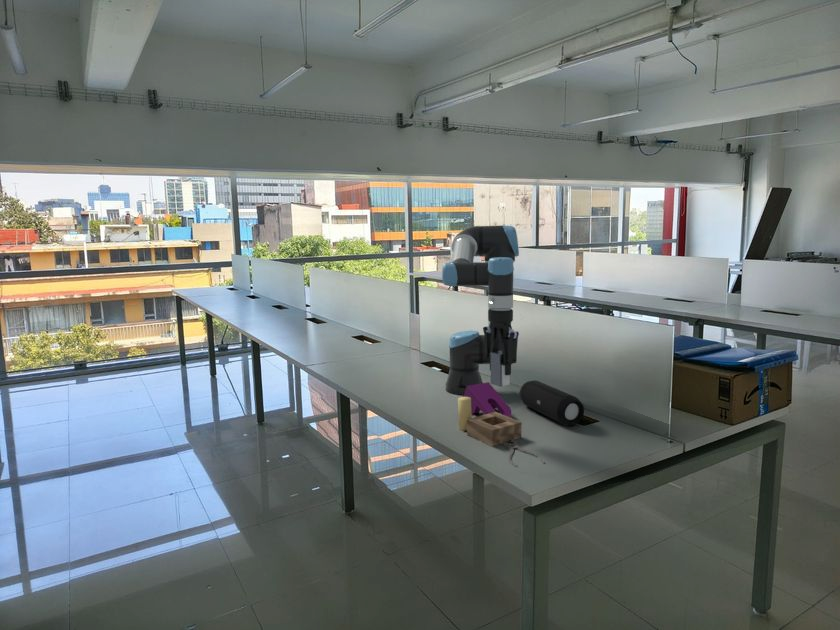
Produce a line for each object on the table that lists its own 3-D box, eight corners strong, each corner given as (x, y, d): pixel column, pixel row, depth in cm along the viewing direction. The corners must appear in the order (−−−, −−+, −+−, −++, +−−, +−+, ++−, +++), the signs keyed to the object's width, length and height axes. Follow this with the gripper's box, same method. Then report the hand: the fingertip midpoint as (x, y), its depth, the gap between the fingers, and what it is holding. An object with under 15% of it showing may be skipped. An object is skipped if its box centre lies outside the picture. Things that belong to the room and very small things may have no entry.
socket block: (495, 426, 186) (495, 411, 186) (521, 437, 177) (521, 422, 176) (466, 434, 180) (466, 419, 179) (492, 446, 170) (492, 430, 169)
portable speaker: (517, 407, 206) (517, 380, 204) (540, 403, 210) (540, 377, 208) (561, 430, 183) (562, 400, 181) (586, 425, 186) (587, 395, 185)
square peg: (500, 381, 179) (500, 350, 178) (509, 384, 176) (510, 352, 174) (490, 383, 177) (490, 352, 175) (499, 386, 173) (500, 354, 172)
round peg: (466, 425, 188) (465, 395, 187) (474, 428, 185) (473, 398, 183) (456, 428, 186) (455, 398, 184) (464, 431, 182) (463, 401, 181)
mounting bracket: (509, 434, 196) (482, 399, 209) (516, 415, 191) (488, 382, 204) (487, 439, 191) (461, 404, 204) (494, 421, 187) (466, 386, 200)
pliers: (519, 467, 154) (482, 442, 172) (519, 470, 154) (482, 445, 172) (548, 461, 158) (509, 437, 176) (548, 464, 158) (509, 439, 176)
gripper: (472, 306, 177) (472, 379, 181) (511, 313, 164) (511, 391, 167) (490, 304, 182) (490, 375, 185) (530, 310, 168) (529, 387, 171)
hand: (500, 383), depth 176 cm, fingers closed on square peg, 4 cm apart
